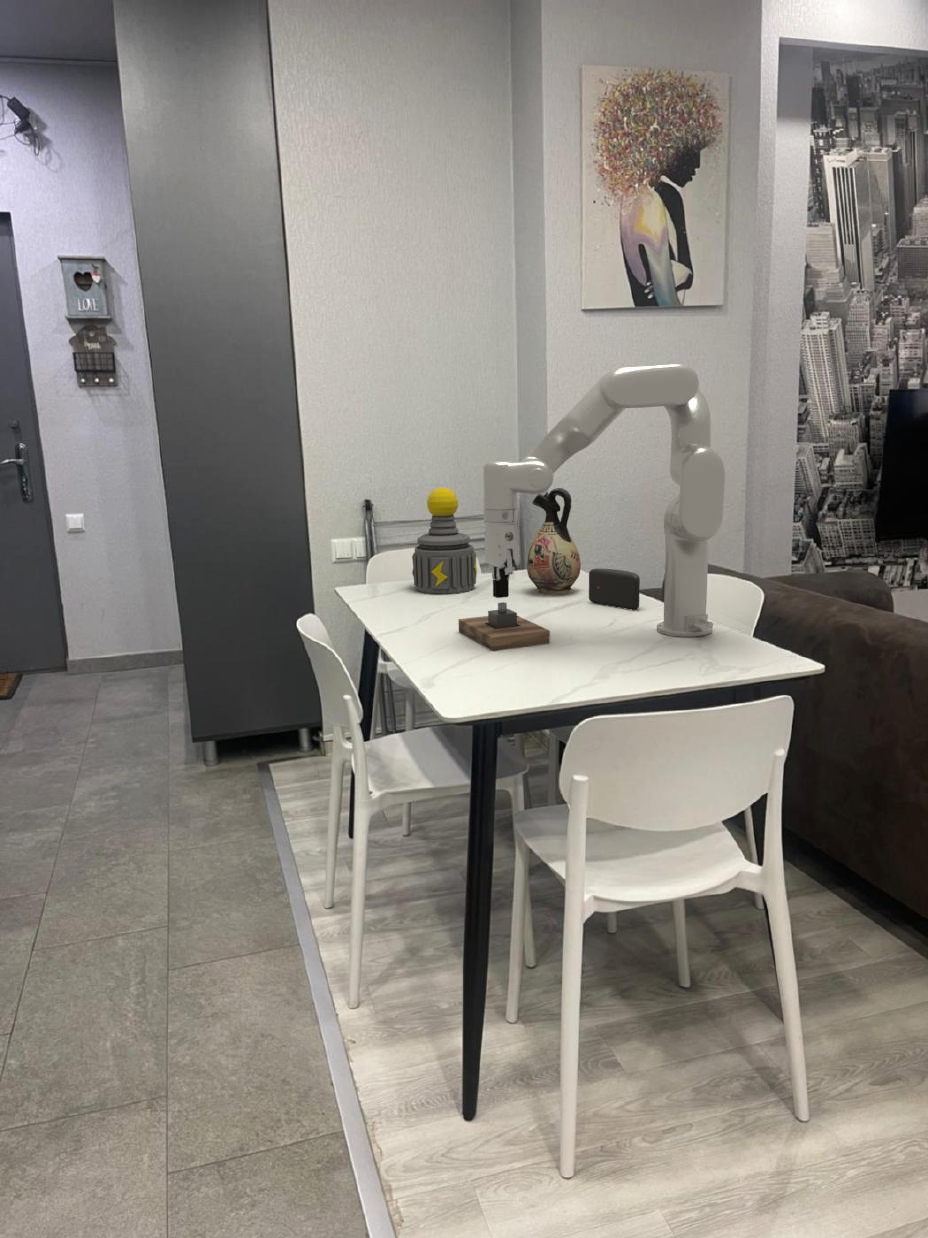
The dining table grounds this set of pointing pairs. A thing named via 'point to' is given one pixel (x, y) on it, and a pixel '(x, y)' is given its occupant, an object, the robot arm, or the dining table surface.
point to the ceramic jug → (553, 548)
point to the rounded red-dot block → (614, 588)
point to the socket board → (504, 633)
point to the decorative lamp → (444, 550)
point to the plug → (502, 617)
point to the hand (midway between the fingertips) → (500, 596)
